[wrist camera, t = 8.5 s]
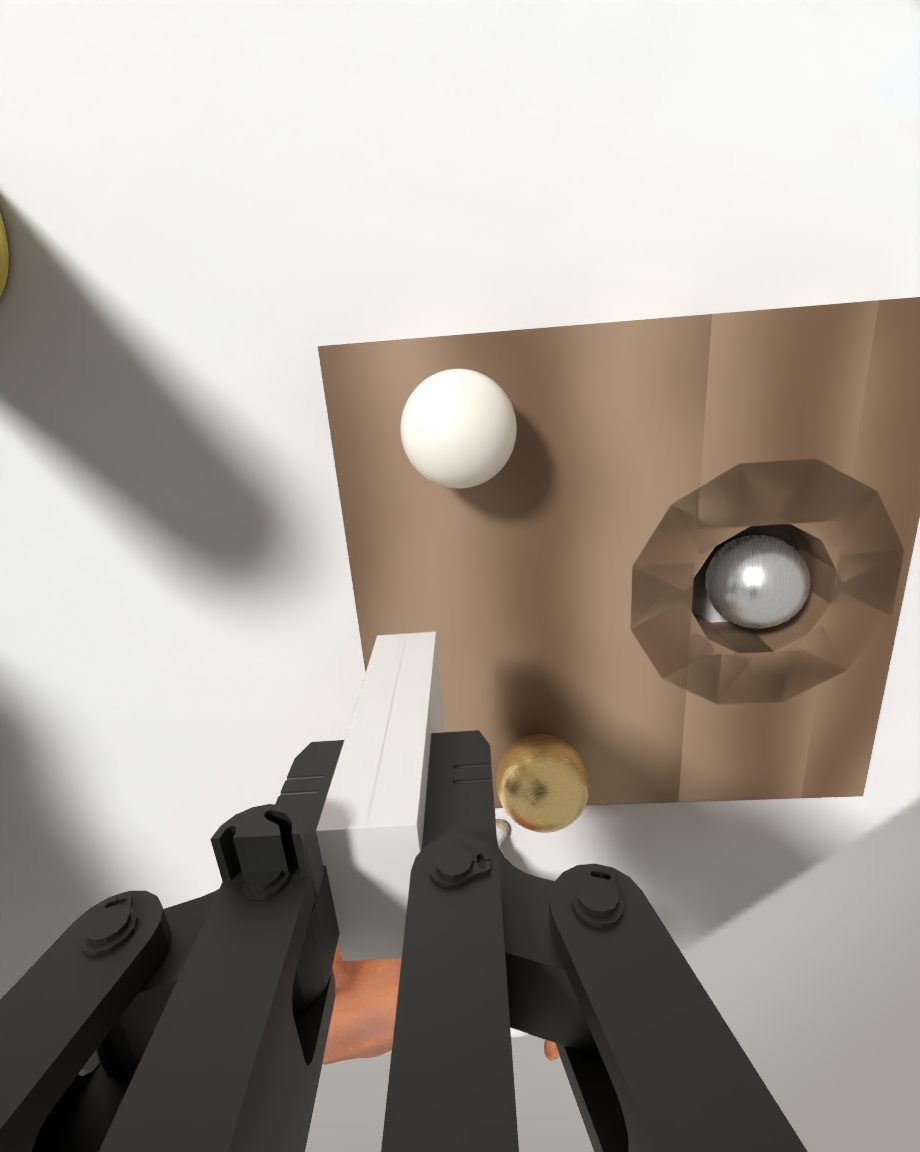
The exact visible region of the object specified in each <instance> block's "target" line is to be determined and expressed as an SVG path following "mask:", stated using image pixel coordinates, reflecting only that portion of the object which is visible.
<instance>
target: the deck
mask: <svg viewBox="0 0 920 1152" xmlns="http://www.w3.org/2000/svg"><path fill="white" fill-rule="evenodd" d="M318 351H319V358H320V365H321V372H322V378H323V385H324V392H325V399H326V406H327V412H328V419H329V426H330V433H331V440H332V447H333V453H334V460H335V467H336V474H337V481H338V487H339V494H340V501H341V508H342V515H343V521H344V528H345V535H346V542H347V549H348V555H349V562H350V569H351V576H352V583H353V590H354V596H355V603H356V610H357V617H358V624H359V630H360V637H361V644H362V651H363V658H364V664H365V671H366V670H367V667H368V664H369V661H370V657H371V654H372V651H373V648H374V645H375V641H376V638H377V635H392V634H408V633H423V632H436V638H437V649H438V659H439V669H440V679H441V689H442V699H443V710H444V720H445V729H444V732H458V731H475V730H479V731H480V732H481V734H482V735H483V736H484V738H485V739H486V740H487V742H488V743H489V744H490V751H491V765H492V778H493V792H494V806H495V808H503V806H502V804H501V802H500V800H499V797H498V794H497V788H496V773H497V768H498V765H499V762H500V760H501V758H502V756H503V754H504V753H505V752H506V750H507V749H508V748H509V747H510V746H511V745H512V744H513V743H515V742H516V741H518V740H519V739H521V738H523V737H526V736H529V735H533V734H548V735H552V736H556V737H558V738H561V739H563V740H564V741H566V742H567V743H569V744H570V745H571V746H572V747H574V748H575V749H576V751H577V752H578V753H579V754H580V756H581V757H582V759H583V761H584V763H585V765H586V767H587V770H588V774H589V780H590V791H589V797H588V801H587V804H586V805H607V804H637V803H668V802H698V801H729V800H760V799H790V798H821V797H852V796H863V793H864V788H865V783H866V779H867V774H868V769H869V764H870V759H871V754H872V749H873V744H874V739H875V734H876V729H877V724H878V719H879V714H880V709H881V704H882V700H883V695H884V690H885V685H886V680H887V675H888V670H889V665H890V660H891V655H892V650H893V645H894V640H895V635H896V630H897V626H898V621H899V616H900V611H901V606H902V601H903V596H904V591H905V586H906V581H907V576H908V571H909V566H910V561H911V556H912V552H913V547H914V542H915V537H916V532H917V527H918V522H919V517H920V297H915V298H903V299H891V300H878V301H866V302H854V303H842V304H830V305H817V306H805V307H793V308H781V309H769V310H756V311H744V312H732V313H720V314H708V315H695V316H683V317H671V318H659V319H647V320H634V321H622V322H610V323H598V324H586V325H573V326H561V327H549V328H537V329H525V330H512V331H500V332H488V333H476V334H464V335H451V336H439V337H427V338H415V339H403V340H390V341H378V342H366V343H354V344H342V345H329V346H318ZM449 369H468V370H473V371H476V372H479V373H481V374H484V375H486V376H487V377H489V378H491V379H492V380H493V381H494V382H496V383H497V384H498V385H499V386H500V387H501V388H502V389H503V391H504V392H505V393H506V395H507V396H508V398H509V400H510V402H511V404H512V406H513V409H514V412H515V417H516V424H517V433H516V440H515V445H514V448H513V451H512V453H511V456H510V458H509V459H508V461H507V463H506V464H505V465H504V467H503V468H502V469H501V470H500V471H499V472H498V473H497V474H496V475H495V476H494V477H492V478H491V479H489V480H488V481H486V482H484V483H482V484H479V485H477V486H473V487H469V488H448V487H444V486H440V485H438V484H435V483H433V482H432V481H430V480H428V479H427V478H425V477H424V476H423V475H421V474H420V473H419V472H418V471H417V470H416V469H415V467H414V466H413V465H412V464H411V462H410V460H409V459H408V457H407V455H406V453H405V450H404V447H403V444H402V439H401V428H400V427H401V418H402V413H403V410H404V407H405V404H406V402H407V400H408V398H409V397H410V395H411V394H412V392H413V391H414V390H415V389H416V388H417V386H418V385H419V384H420V383H422V382H423V381H424V380H425V379H427V378H428V377H430V376H432V375H434V374H436V373H438V372H441V371H444V370H449ZM779 524H785V525H786V527H787V529H788V531H789V533H790V534H791V536H792V538H793V540H794V542H795V544H796V546H797V551H798V552H799V553H800V555H801V556H802V557H803V559H804V560H805V562H806V564H807V567H808V569H809V573H810V591H809V595H808V597H807V600H806V602H805V603H804V605H803V607H802V608H801V609H800V610H799V612H798V613H796V614H795V615H794V616H793V617H792V618H790V619H789V620H787V621H786V622H784V623H782V624H779V625H776V626H773V627H769V628H747V627H743V626H739V625H737V624H734V623H732V622H717V623H710V622H708V621H706V620H704V619H702V618H700V617H698V616H696V615H694V614H693V613H692V600H693V585H694V577H695V576H696V574H697V573H698V571H699V570H700V568H701V567H702V565H703V564H704V562H705V561H706V560H707V558H708V557H709V555H710V554H711V552H712V551H713V549H714V548H715V546H717V545H719V544H720V543H722V542H724V541H726V540H727V539H729V538H731V537H733V536H734V535H736V534H738V533H740V532H741V531H743V530H745V529H747V528H748V527H750V526H762V525H779Z"/></svg>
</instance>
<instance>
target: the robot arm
mask: <svg viewBox="0 0 920 1152" xmlns="http://www.w3.org/2000/svg"><path fill="white" fill-rule="evenodd" d="M444 729H445V720H444V710H443V699H442V689H441V679H440V669H439V659H438V649H437V638H436V632H423V633H408V634H392V635H377V638H376V641H375V645H374V648H373V651H372V654H371V657H370V661H369V664H368V667H367V670H366V673H365V677H364V680H363V683H362V686H361V689H360V692H359V696H358V699H357V702H356V705H355V708H354V712H353V715H352V718H351V721H350V724H349V728H348V731H347V734H346V737H345V740H338V741H322V742H311V743H310V744H309V745H308V746H307V747H306V748H305V749H304V750H303V751H302V752H301V753H300V754H299V755H298V756H297V757H296V758H295V759H294V762H293V764H292V766H291V769H290V771H289V773H288V776H287V781H285V783H284V785H283V788H282V790H281V795H280V796H279V797H278V799H277V802H276V804H275V805H273V804H268V805H262V806H257V807H252V808H250V809H248V810H245V811H243V812H241V813H239V814H236V815H235V816H233V817H232V818H231V819H229V820H228V821H227V822H225V823H224V824H223V825H221V826H220V828H219V829H218V830H217V831H216V833H215V834H214V835H213V837H212V838H211V842H212V846H213V849H214V853H215V856H216V860H217V863H218V867H219V870H220V874H221V877H222V881H223V882H222V884H221V887H220V889H218V890H216V891H215V892H212V893H210V894H207V895H205V896H202V897H200V898H197V899H194V900H190V901H187V902H184V903H181V904H178V905H175V906H172V907H169V908H166V909H163V907H162V905H161V903H160V901H159V899H158V897H157V896H156V895H154V894H151V893H149V892H147V891H128V892H125V893H121V894H118V895H115V896H112V897H109V898H107V899H106V900H104V901H102V902H100V903H99V904H97V905H95V906H93V907H91V908H90V909H89V910H88V911H87V912H85V913H84V914H83V915H82V916H81V917H80V918H78V919H77V920H76V921H75V922H74V923H73V924H72V925H71V926H70V927H69V928H68V929H67V930H66V931H65V932H64V933H63V934H62V935H61V936H60V937H59V939H58V940H57V941H56V942H55V943H54V944H53V945H52V946H51V947H50V948H49V949H48V950H47V951H46V952H45V953H44V954H43V955H42V957H41V958H40V959H39V960H38V961H37V962H36V963H35V964H34V965H33V966H32V967H31V968H30V969H29V970H28V971H27V972H26V973H25V975H24V976H23V977H22V978H21V979H20V980H19V981H18V982H17V983H16V984H15V985H14V986H13V987H12V988H11V989H10V990H9V991H8V993H7V994H6V995H5V996H4V997H3V998H2V999H1V1000H0V1152H305V1148H306V1143H307V1138H308V1133H309V1128H310V1123H311V1118H312V1113H313V1108H314V1103H315V1098H316V1092H317V1088H318V1083H319V1078H320V1072H321V1067H322V1062H323V1057H324V1052H325V1047H326V1042H327V1037H328V1032H329V1027H330V1022H331V1017H332V1012H333V1007H334V1002H335V978H334V973H333V968H332V966H333V961H334V956H335V952H336V947H337V943H338V941H339V946H340V951H341V956H342V960H343V961H353V960H374V959H394V958H402V959H401V969H400V978H399V988H398V997H397V1007H396V1016H395V1026H394V1035H393V1045H392V1054H391V1064H390V1073H389V1083H388V1092H387V1102H386V1112H385V1121H384V1131H383V1140H382V1150H381V1152H519V1147H518V1133H517V1118H516V1103H515V1089H514V1074H513V1061H512V1046H511V1031H510V1028H513V1029H516V1030H519V1031H522V1032H525V1033H528V1034H531V1035H534V1036H537V1037H540V1038H542V1039H545V1040H548V1041H551V1042H554V1043H556V1046H557V1049H558V1052H559V1055H560V1057H561V1060H562V1063H563V1066H564V1068H565V1071H566V1074H567V1077H568V1080H569V1082H570V1085H571V1088H572V1091H573V1094H574V1096H575V1099H576V1102H577V1105H578V1107H579V1110H580V1113H581V1116H582V1119H583V1121H584V1124H585V1127H586V1130H587V1133H588V1135H589V1138H590V1141H591V1144H592V1146H593V1149H594V1152H807V1150H806V1148H805V1147H804V1145H803V1144H802V1142H801V1141H800V1139H799V1137H798V1136H797V1134H796V1133H795V1131H794V1130H793V1128H792V1126H791V1125H790V1123H789V1122H788V1120H787V1119H786V1117H785V1116H784V1114H783V1112H782V1111H781V1109H780V1107H779V1106H778V1104H777V1103H776V1101H775V1100H774V1098H773V1096H772V1095H771V1093H770V1092H769V1090H768V1089H767V1087H766V1085H765V1084H764V1082H763V1081H762V1079H761V1078H760V1076H759V1074H758V1073H757V1071H756V1070H755V1068H754V1067H753V1065H752V1063H751V1062H750V1061H749V1059H748V1057H747V1055H746V1054H745V1052H744V1051H743V1049H742V1048H741V1046H740V1045H739V1043H738V1041H737V1040H736V1038H735V1037H734V1035H733V1033H732V1032H731V1030H730V1029H729V1027H728V1026H727V1024H726V1022H725V1021H724V1019H723V1018H722V1016H721V1015H720V1013H719V1011H718V1010H717V1008H716V1007H715V1005H714V1003H713V1002H712V1000H711V999H710V997H709V996H708V994H707V992H706V991H705V989H704V988H703V986H702V985H701V983H700V982H699V980H698V978H697V977H696V975H695V974H694V972H693V970H692V969H691V967H690V966H689V964H688V963H687V961H686V959H685V958H684V956H683V955H682V953H681V951H680V950H679V948H678V947H677V945H676V944H675V942H674V940H673V939H672V937H671V936H670V934H669V933H668V931H667V929H666V928H665V926H664V925H663V923H662V922H661V920H660V918H659V917H658V915H657V914H656V912H655V911H654V909H653V907H652V906H651V904H650V903H649V901H648V899H647V898H646V896H645V895H644V893H643V892H642V890H641V889H640V888H639V887H638V886H637V885H636V884H635V883H634V881H633V880H632V879H631V878H630V877H628V876H627V875H625V874H623V873H621V872H620V871H618V870H616V869H614V868H612V867H607V866H603V865H598V864H587V865H577V866H575V867H573V868H571V869H569V870H567V871H565V872H563V873H562V874H561V875H560V876H559V877H558V879H557V880H556V881H551V880H547V879H542V878H538V877H535V876H532V875H529V874H526V873H524V872H522V871H520V870H519V869H517V868H516V867H514V866H513V865H512V864H511V863H510V862H509V861H508V860H507V859H506V858H505V857H504V856H503V854H502V852H501V850H500V849H499V845H498V841H497V833H496V820H495V806H494V792H493V778H492V765H491V751H490V744H489V743H488V742H487V740H486V739H485V738H484V736H483V735H482V734H481V732H480V731H479V730H475V731H458V732H444Z"/></svg>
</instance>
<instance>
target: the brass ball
mask: <svg viewBox="0 0 920 1152" xmlns="http://www.w3.org/2000/svg"><path fill="white" fill-rule="evenodd" d="M496 788H497V794H498V797H499V800H500V802H501V804H502V806H503V808H504V810H505V811H506V813H507V814H508V815H509V816H510V817H511V818H512V819H513V820H514V821H515V822H516V823H518V824H519V825H521V826H522V827H524V828H526V829H529V830H532V831H536V832H542V833H548V832H555V831H558V830H561V829H564V828H565V827H567V826H569V825H570V824H572V823H573V822H574V821H575V820H576V819H577V818H578V817H579V816H580V815H581V813H582V812H583V810H584V808H585V806H586V804H587V801H588V797H589V791H590V780H589V774H588V770H587V767H586V765H585V763H584V761H583V759H582V757H581V756H580V754H579V753H578V752H577V751H576V749H575V748H574V747H572V746H571V745H570V744H569V743H567V742H566V741H564V740H563V739H561V738H558V737H556V736H552V735H548V734H533V735H529V736H526V737H523V738H521V739H519V740H518V741H516V742H515V743H513V744H512V745H511V746H510V747H509V748H508V749H507V750H506V752H505V753H504V754H503V756H502V758H501V760H500V762H499V765H498V768H497V773H496Z"/></svg>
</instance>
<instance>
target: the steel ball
mask: <svg viewBox="0 0 920 1152" xmlns="http://www.w3.org/2000/svg"><path fill="white" fill-rule="evenodd" d="M705 587H706V592H707V595H708V598H709V600H710V602H711V604H712V605H713V607H714V608H715V609H716V610H717V612H718V613H719V614H720V615H722V616H723V617H724V618H726V619H727V620H729V621H730V622H732V623H734V624H737V625H739V626H743V627H747V628H769V627H773V626H776V625H779V624H782V623H784V622H786V621H787V620H789V619H790V618H792V617H793V616H794V615H795V614H796V613H798V612H799V610H800V609H801V608H802V607H803V605H804V603H805V602H806V600H807V597H808V595H809V591H810V573H809V569H808V567H807V564H806V562H805V560H804V559H803V557H802V556H801V555H800V553H799V552H798V551H797V550H796V549H795V548H793V547H792V546H791V545H789V544H788V543H786V542H784V541H782V540H780V539H778V538H775V537H771V536H766V535H750V536H744V537H741V538H738V539H735V540H733V541H731V542H729V543H727V544H726V545H724V546H723V547H722V548H721V549H720V550H718V551H717V553H716V554H715V555H714V556H713V558H712V559H711V561H710V563H709V565H708V568H707V571H706V577H705Z"/></svg>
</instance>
